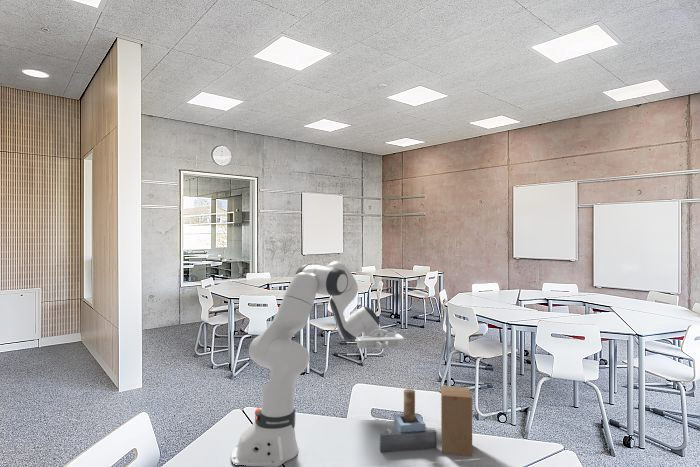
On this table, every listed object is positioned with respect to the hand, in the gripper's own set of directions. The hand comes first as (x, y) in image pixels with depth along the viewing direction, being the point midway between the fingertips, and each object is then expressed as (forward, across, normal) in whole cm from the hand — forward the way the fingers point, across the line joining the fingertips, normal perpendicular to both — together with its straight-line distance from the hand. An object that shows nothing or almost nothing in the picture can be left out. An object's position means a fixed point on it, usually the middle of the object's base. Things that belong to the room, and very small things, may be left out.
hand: (384, 346), depth 165 cm
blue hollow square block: (+19, +5, +30) cm, 35 cm away
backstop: (+17, +3, +30) cm, 34 cm away
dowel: (+19, +5, +28) cm, 34 cm away
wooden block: (+25, +20, +30) cm, 44 cm away
